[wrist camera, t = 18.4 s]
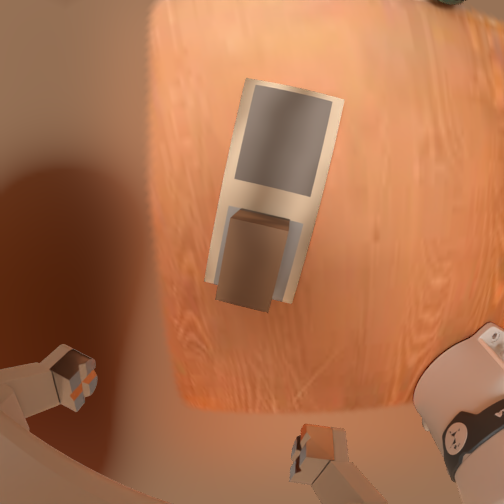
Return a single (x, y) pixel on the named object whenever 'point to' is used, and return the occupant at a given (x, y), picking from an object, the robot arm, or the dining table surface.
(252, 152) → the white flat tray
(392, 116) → the dining table surface
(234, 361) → the dining table surface
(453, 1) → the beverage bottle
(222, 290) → the block
